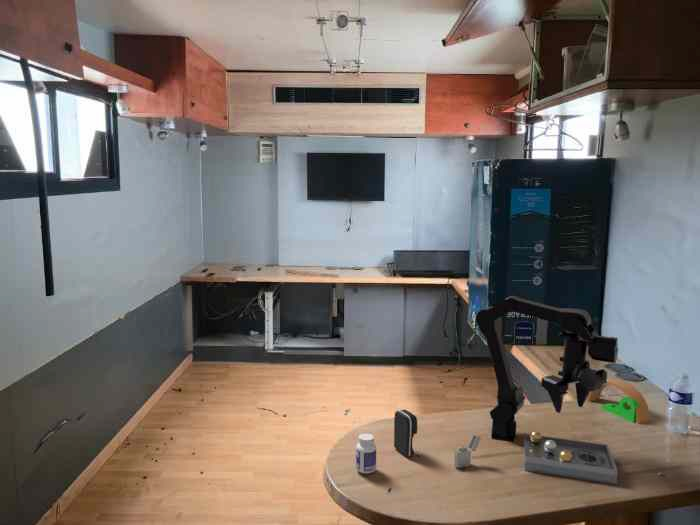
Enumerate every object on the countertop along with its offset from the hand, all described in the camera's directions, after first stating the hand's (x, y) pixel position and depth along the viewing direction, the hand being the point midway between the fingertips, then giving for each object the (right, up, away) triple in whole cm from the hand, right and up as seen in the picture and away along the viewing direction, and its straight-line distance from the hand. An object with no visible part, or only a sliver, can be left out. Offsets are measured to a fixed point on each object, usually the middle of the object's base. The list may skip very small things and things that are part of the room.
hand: (569, 409), depth 148 cm
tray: (-2, -14, -4) cm, 14 cm away
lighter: (-30, -13, -5) cm, 33 cm away
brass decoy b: (-5, -10, -9) cm, 14 cm away
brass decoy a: (-9, -8, +2) cm, 12 cm away
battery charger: (-46, -12, +2) cm, 47 cm away
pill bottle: (-57, -13, -8) cm, 59 cm away
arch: (+29, -9, +31) cm, 43 cm away
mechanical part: (+29, -10, +28) cm, 42 cm away
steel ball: (-7, -9, -4) cm, 12 cm away
